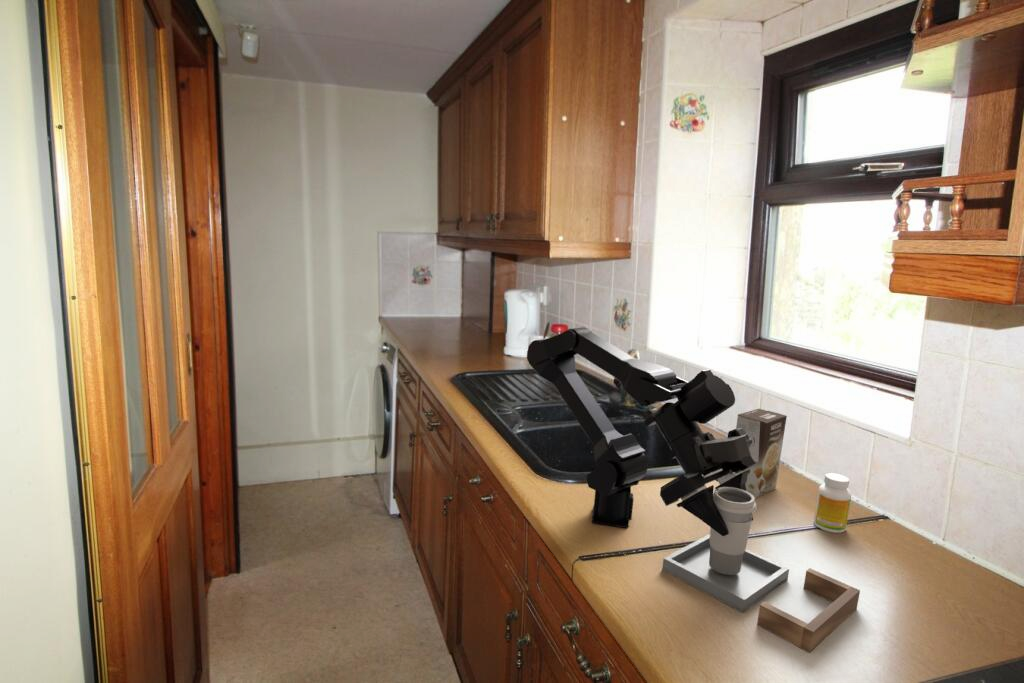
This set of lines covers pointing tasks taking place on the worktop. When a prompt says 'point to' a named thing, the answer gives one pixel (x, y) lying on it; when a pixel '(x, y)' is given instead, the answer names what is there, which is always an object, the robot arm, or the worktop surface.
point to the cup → (731, 529)
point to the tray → (731, 589)
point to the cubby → (822, 624)
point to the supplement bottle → (833, 503)
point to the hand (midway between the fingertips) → (738, 528)
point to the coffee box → (763, 448)
